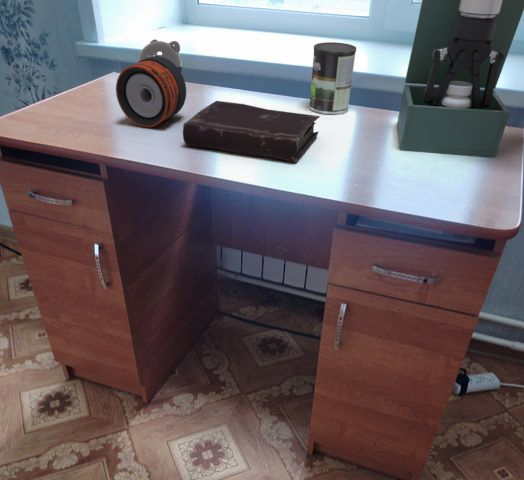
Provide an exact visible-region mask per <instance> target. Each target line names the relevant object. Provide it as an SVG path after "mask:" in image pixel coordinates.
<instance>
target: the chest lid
mask: <svg viewBox="0 0 524 480" xmlns="http://www.w3.org/2000/svg"><path fill="white" fill-rule="evenodd" d="M459 5H460V0H421V5H420V9H419V13H418V19H417V23H416V29H415V32H414V33H415V34H414V36H413V42H412V47H411V50H410V56H409V61H408V65H407V70H406V75H405V79H404V84H411V85H426V84H427V81H428V77H429V74H430V70H431V67H432V63H433V50H434V49H435V48H438V49H441V48H445V47H447V46H448V44H449V43H450V41H451V39H452V35H453V30H454V26H455V22H456V17H457V16H458V15H459V14H461V12H460V11H459V10H458V9H459ZM523 13H524V0H503V1H502V5H501V9H500V12H499V13H498V14H497V15H495V17H496V18H497V23H496V27H495V30H494V34H493V38H492V41H491V47H492V50H494V51H497V52H498V51H500V52H501V53H502V54H503V55H504V58H503V60H502V62H501V64H500V65H499V67H498V71H497V76H496V81H495V85H494V90H495V89H496V87H497V85H498V82H499V79H500V77H501V74H502V72H503V68H504V65H505V63H506V60H507V58H508V54H509V53H510V49H511V46H512V44H513V41H514V38H515V35H516V32H517V30H518V27H519V24H520V21H521V18H522V17H523ZM489 59H490V56H488V57H487V58H486V59H485V60H484V61H483V62H482V63H481V64H480V89H485V86H486V81H487V76H488V71H489V67H490V64H491V63H490V61H489ZM450 63H451V60H450V58H449V55H448V53H447V54H445V56H444V59H443V60H442V61H440V67H439V70H438V74H437V77H436V81H435V84H434V86H439V84H440V83H441V81H442V79H443V77H444V75H445V73H446V72H447V69H448V67H449V65H450ZM451 81H464V82H468V83H471V84H472V78H471V71H469V70H466V69H463V70H457V72H456V74H455V75H454V76H453V78H452V80H451Z"/></svg>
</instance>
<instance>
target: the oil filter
mask: <svg viewBox="0 0 524 480" xmlns="http://www.w3.org/2000/svg"><path fill="white" fill-rule="evenodd" d="M115 96H116V100H117V102H118V105H119V107H120V109H121V111H122V113H123V114H124V115H125V116H126V117H127V118H128V119H129V120H130V121H131V122H132V123H134V124H136V125H137V126H140V127H143V128H153V127H156V126H158V125H160V124H161V123H162V122H164V121H167V120H168V119H170V118H171V117H174V116H175V115H176V114H178V113H179V112H180V111H181V110H182V109H183V107H184V105H185V103H186V99H187V85H186V80H185V78H184V76H183V74H182V71H181V72H180V70H179V69H178V67H177V66H176V65H175V64H174V63H172V62H171V61H170V60H168V59H166V58H164V57H160V56H151V57H148V58H146V59H143V60H141V61H139V60H138V61H137V63H134V64H132V65H130V66H127V67H125V68H124V69H122V71H121V72H120V73H119V75H118V77H117V79H116V84H115Z"/></svg>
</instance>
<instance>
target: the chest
mask: <svg viewBox="0 0 524 480" xmlns="http://www.w3.org/2000/svg"><path fill="white" fill-rule="evenodd" d="M425 88H426V85H421V84H404V85H403V89H402V96H401V101H400V107H399V111H398V117H397V122H396V130H397V137H398V144H399V145H398V146H399V150H400V151H406V152H407V151H408V152H420V153H433V154H444V155H458V156H459V155H460V156H471V157H484V158H485V157H486V158H496V156H497V155H498V150H499V147H500V144H501V141H502V138H503V134H504V132H505V129H506V126H507V123H508V120H509V117H510V113H511V112H510V111H509V109H508V108H507V106H505V103H504V102H503V101H502V99H501V98H500V97H499V95H498V94H497V92H496V91H495V89H494V90H493V94H492V99H491V103H490V106H489V107H487V108H486V107H484V108H481V109H467V108H452V107H438V106H430V105H428V104H425V103H424V101H423V95H424V91H425ZM437 88H438V86H436V85H434V87H433V91H432V94H431V97H433V96H434V94H435V92H436V90H437ZM484 90H485V89H483V88H480V100H483V95H484ZM445 95H447V93H446V92H444V94H443V96H445ZM443 96H442V97H443ZM468 97H469V98H470V100H471V104H470V107H472V106H473V104H472V91H471V94H470V95H469V96H468ZM441 99H442V98H441ZM440 102H441V100H440V101H439V103H438V105H439V106H440Z"/></svg>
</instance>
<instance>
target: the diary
mask: <svg viewBox="0 0 524 480" xmlns="http://www.w3.org/2000/svg"><path fill="white" fill-rule="evenodd" d="M320 118H321V116H320V115H314V114H306V113H300V112H299V113H298V112H292V111H284V110H275V109H268V108H263V107H259V106H254V105H250V104H245V103H238V102H231V101H223V100H215V101H214V102H212V103H210V104H209V105H206V106H205V107H204V108H202V109H201V110H199V111H198V112H197V113H196V114H195V115H194V116H192V117H191V118H189V119H188V120H187V121H185V122H184V123H183V126H182V138H183V142H184V145H185V146H191V147H199V148H207V149H214V150H221V151H226V152H230V153H231V152H232V153H236V154H242V155H250V156H260V157H267V158H273V159H278V160H284V161H287V162H288V161H289V162H293V163H294V162H295V163H298V162H299V160H300V158H301V157H302V156H303V155H304V154H305V152H306V151H307V150H308V149H309V147H310V146H311V145H312V144H313V142H314V141H315V139H316V138H317V136H318V135H319V131H314V128H315V125H316V124H317V122H316V121H317V120H318V119H320Z"/></svg>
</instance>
